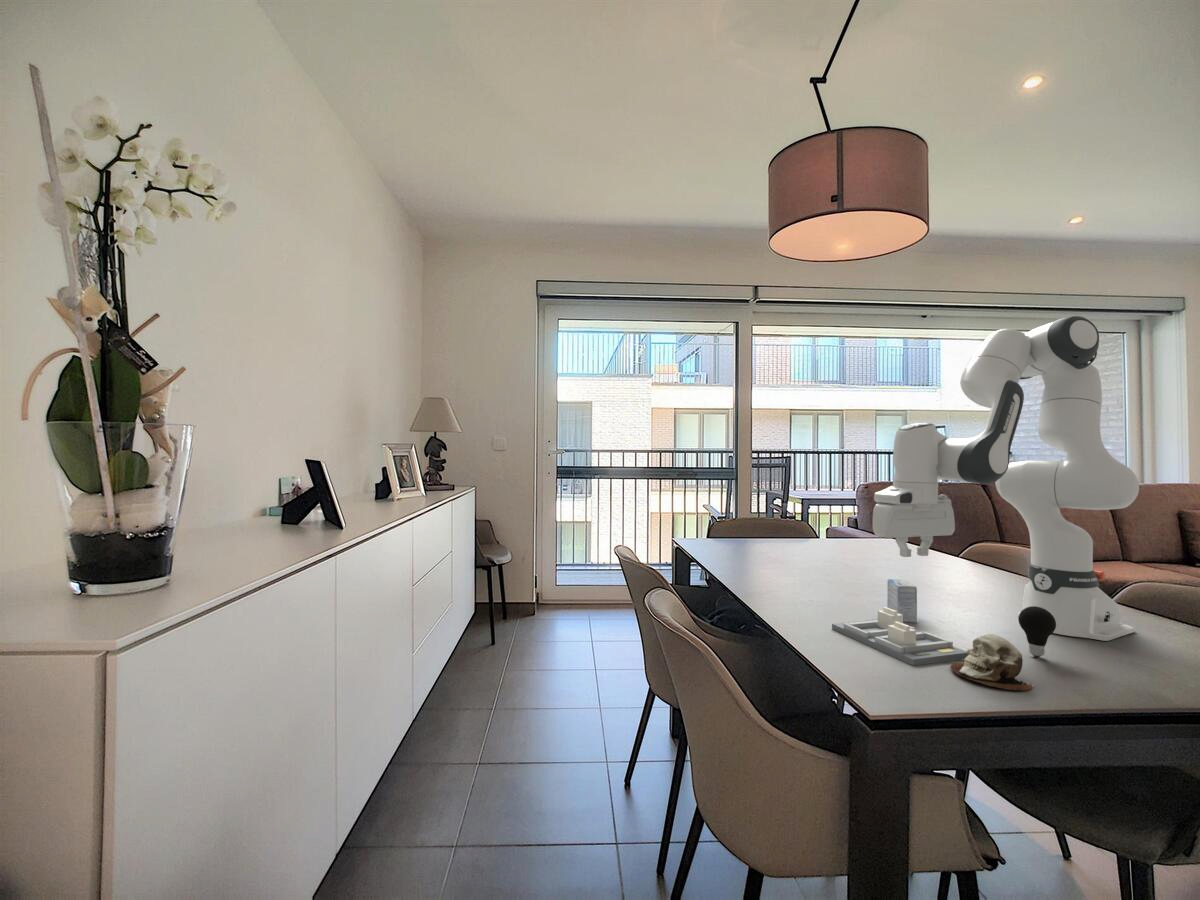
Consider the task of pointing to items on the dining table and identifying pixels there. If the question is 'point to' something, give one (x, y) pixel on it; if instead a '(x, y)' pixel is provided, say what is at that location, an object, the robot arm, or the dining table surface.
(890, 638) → the tab
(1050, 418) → the robot arm
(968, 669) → the skull
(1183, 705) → the dining table surface
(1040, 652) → the light bulb
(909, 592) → the medicine box
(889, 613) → the tab
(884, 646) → the switch board
